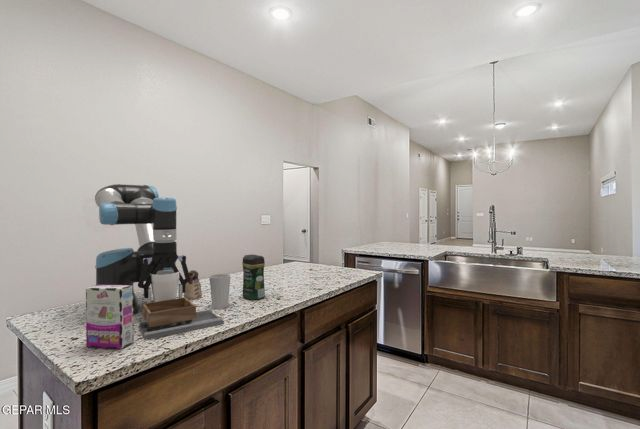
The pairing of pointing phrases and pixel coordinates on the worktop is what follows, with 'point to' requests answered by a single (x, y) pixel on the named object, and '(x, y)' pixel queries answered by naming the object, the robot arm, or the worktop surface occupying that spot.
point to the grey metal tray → (182, 325)
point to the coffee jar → (253, 277)
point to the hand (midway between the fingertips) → (165, 304)
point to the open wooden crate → (168, 312)
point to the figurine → (193, 287)
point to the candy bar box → (109, 316)
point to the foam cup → (164, 285)
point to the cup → (220, 290)
